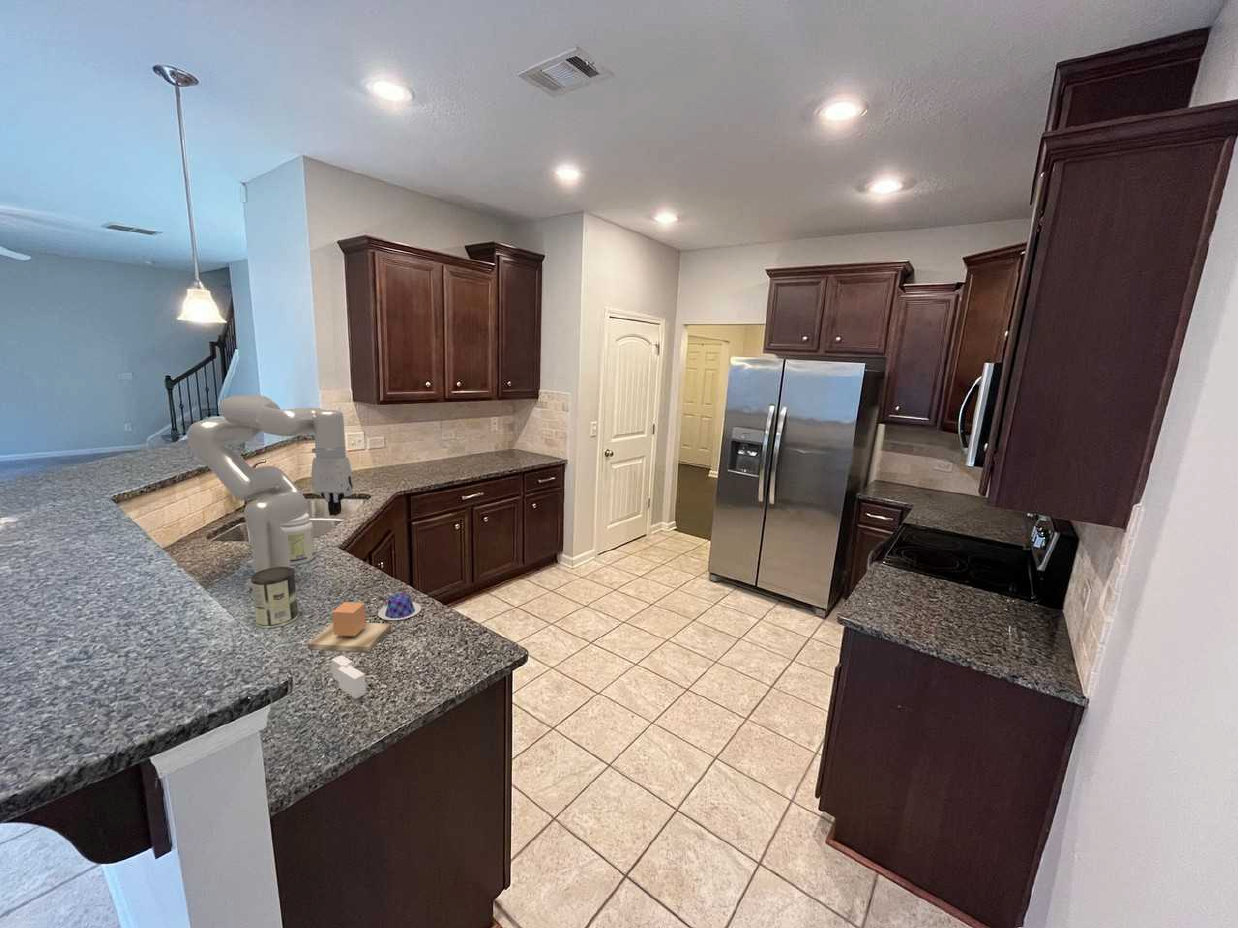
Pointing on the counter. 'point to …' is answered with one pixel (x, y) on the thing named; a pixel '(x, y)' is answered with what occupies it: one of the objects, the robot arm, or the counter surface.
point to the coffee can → (274, 597)
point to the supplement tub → (300, 539)
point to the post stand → (350, 639)
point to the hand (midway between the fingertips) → (335, 514)
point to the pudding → (399, 607)
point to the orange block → (349, 619)
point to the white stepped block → (348, 677)
